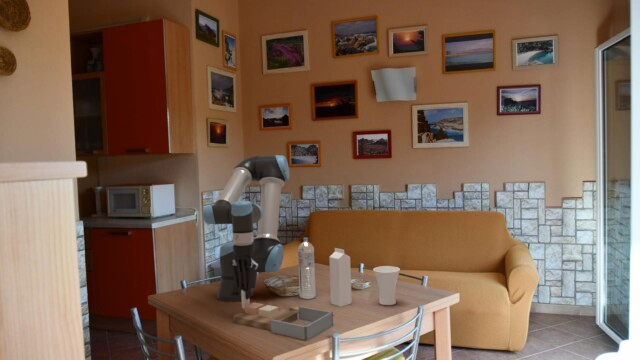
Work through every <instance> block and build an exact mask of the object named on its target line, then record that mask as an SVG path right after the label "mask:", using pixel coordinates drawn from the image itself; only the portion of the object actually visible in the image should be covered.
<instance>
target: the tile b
mask: <svg viewBox="0 0 640 360" xmlns="http://www.w3.org/2000/svg"><path fill="white" fill-rule="evenodd" d="M278 309H279V306H275V305H274V306H273V305H269V304H266V305H264V307H262V308H260V309H258V312H259V316H261V317H266V318H271V317H273V316H275V315H277V314H279V312H278Z"/></svg>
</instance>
